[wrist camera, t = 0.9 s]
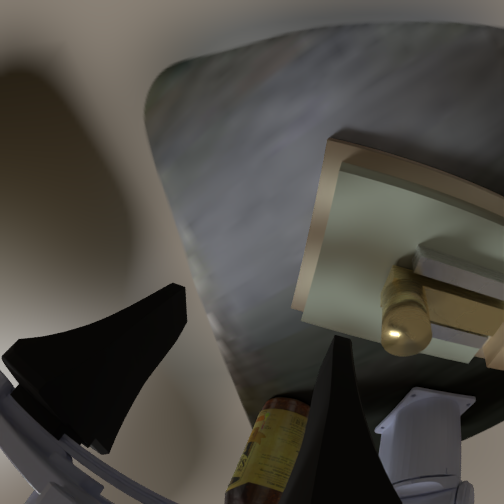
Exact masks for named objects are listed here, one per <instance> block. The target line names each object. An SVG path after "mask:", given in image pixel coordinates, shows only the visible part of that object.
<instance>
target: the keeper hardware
mask: <svg viewBox="0 0 504 504" xmlns="http://www.w3.org/2000/svg"><path fill="white" fill-rule="evenodd" d="M412 266H413V271H414V273H416V274H420V275H423V276H426V277H430V278H433V279H436V280H439V281H443V282H446V283H449V284H452V285H456V286H459V287H462V288H465V289H468V290H472V291H475V292H478V293H481V294H484V295H487V296H490V297H494V298H497V299H500V300H503V301H504V274H503V273H500V272H497V271H495V270H492V269H489V268H486V267H483V266H481V265H478V264H475V263H472V262H469V261H466V260H463V259H461V258H458V257H455V256H452V255H449V254H446V253H443V252H440V251H436V250H433V249H430V248H427V247H424V246H421V245H418V246H417V248H416V251H415V253H414V256H413V258H412ZM430 322H431V329H432V338H436V339H440V340H444V341H448V342H453V343H457V344H461V345H465V346H469V347H474V348H478V349H481V347H482V346H483V345H484V343H485V342H486V341H487V339H488V336H487V335H483V334H479V333H475V332H472V331H468V330H464V329H460V328H456V327H452V326H449V325H445V324H441V323H437V322H433V321H430Z"/></svg>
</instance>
